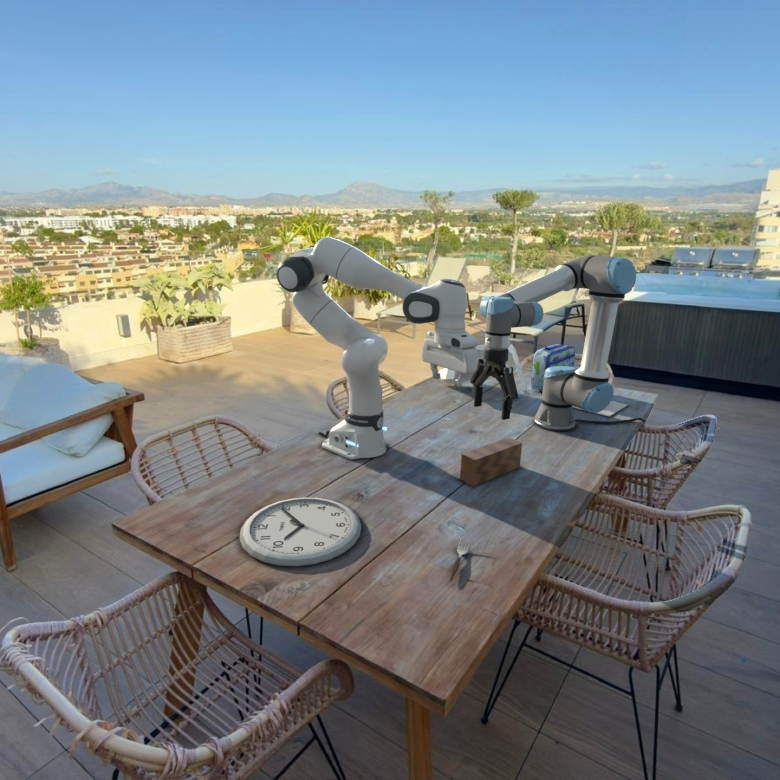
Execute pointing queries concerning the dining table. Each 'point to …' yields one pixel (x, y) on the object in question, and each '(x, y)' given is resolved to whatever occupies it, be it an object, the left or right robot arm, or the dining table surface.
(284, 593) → the dining table surface
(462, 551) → the fork
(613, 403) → the invitation card
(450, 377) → the white plastic object
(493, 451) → the bar
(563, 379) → the right robot arm
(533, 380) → the lunch box
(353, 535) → the wall clock
